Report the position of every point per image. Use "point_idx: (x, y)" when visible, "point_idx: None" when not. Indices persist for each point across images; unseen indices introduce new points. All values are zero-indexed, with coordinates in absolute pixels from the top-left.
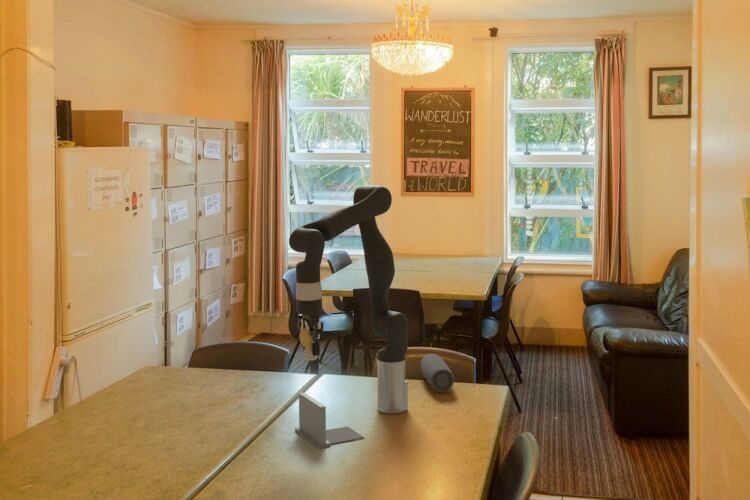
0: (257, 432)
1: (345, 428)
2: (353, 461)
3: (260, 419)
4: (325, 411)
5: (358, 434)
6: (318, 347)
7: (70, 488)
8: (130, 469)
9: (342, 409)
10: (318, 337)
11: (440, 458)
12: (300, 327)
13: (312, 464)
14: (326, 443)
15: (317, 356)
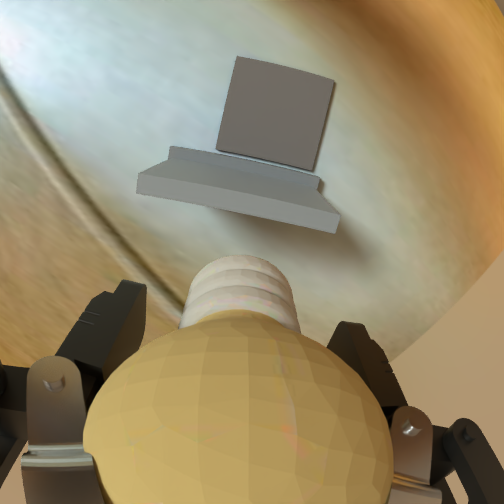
0: (124, 253)
1: (247, 70)
2: (414, 200)
3: (57, 203)
4: (335, 210)
5: (309, 76)
6: (393, 387)
7: None
8: None
9: (115, 3)
10: (417, 462)
11: (494, 83)
12: (2, 476)
13: (365, 269)
14: (316, 187)
15: (279, 273)
